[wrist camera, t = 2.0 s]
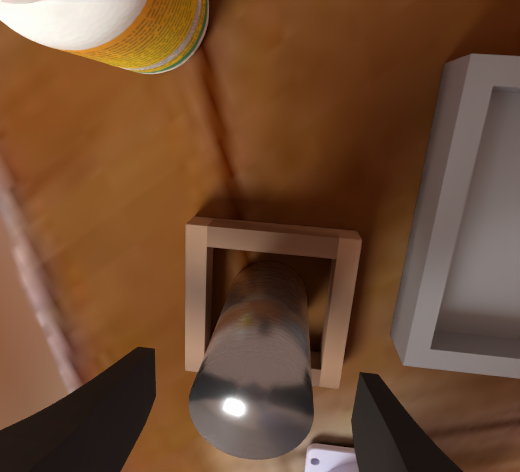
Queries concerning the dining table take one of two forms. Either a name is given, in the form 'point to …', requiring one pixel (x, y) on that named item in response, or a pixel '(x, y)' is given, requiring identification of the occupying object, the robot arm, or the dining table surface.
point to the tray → (466, 228)
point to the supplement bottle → (114, 29)
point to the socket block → (282, 242)
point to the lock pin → (257, 367)
